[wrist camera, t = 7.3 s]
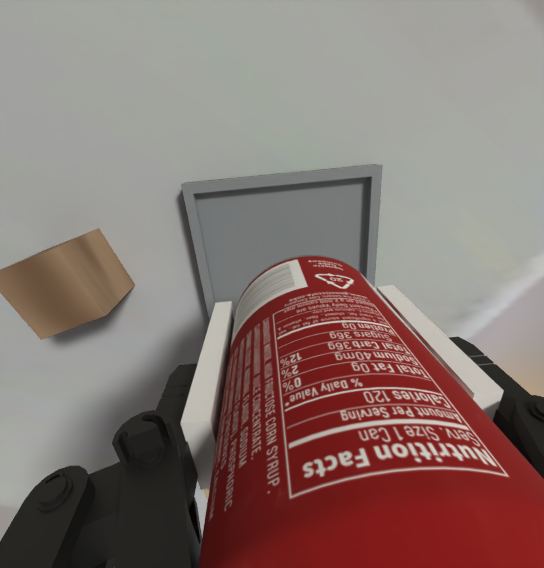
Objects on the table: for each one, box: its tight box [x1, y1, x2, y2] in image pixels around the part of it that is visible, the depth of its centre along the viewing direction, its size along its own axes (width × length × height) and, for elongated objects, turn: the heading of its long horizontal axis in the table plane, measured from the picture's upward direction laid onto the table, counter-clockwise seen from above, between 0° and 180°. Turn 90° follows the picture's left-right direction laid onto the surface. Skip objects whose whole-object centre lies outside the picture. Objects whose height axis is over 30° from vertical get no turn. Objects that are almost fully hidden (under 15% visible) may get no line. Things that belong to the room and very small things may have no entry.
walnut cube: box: [0, 228, 135, 340], centre depth 18 cm, size 4×4×4 cm
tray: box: [181, 164, 382, 322], centre depth 20 cm, size 12×12×1 cm
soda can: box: [198, 255, 544, 568], centre depth 9 cm, size 7×7×12 cm
